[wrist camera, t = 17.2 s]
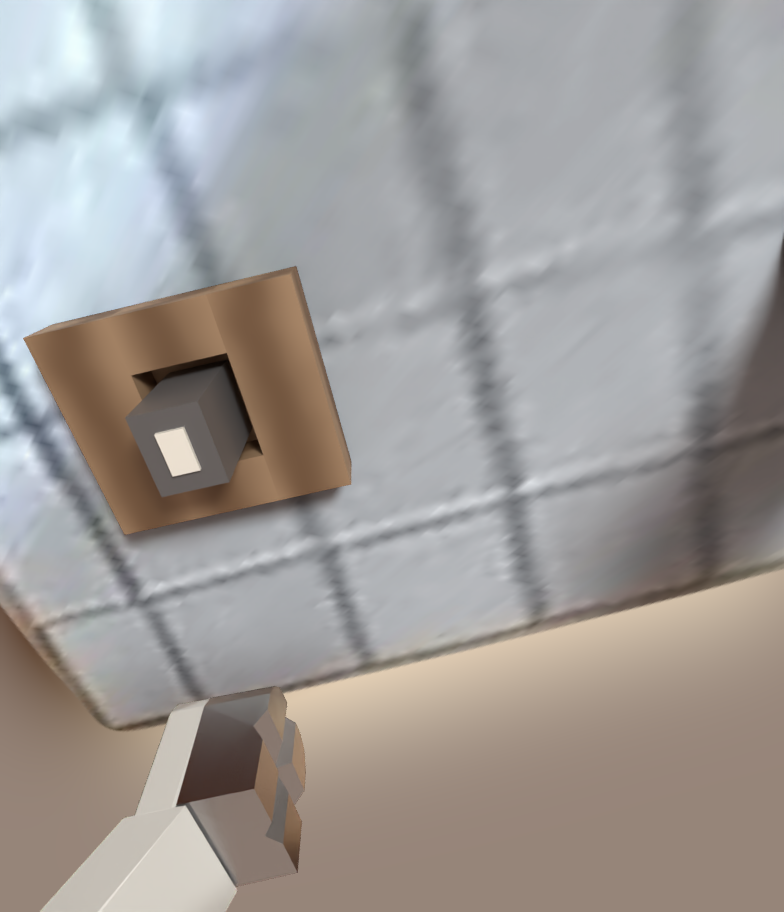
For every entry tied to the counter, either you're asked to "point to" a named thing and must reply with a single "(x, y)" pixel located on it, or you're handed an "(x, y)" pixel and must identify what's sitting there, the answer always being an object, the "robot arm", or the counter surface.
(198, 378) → the block
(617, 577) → the counter surface
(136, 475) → the dock
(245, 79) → the counter surface
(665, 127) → the counter surface
